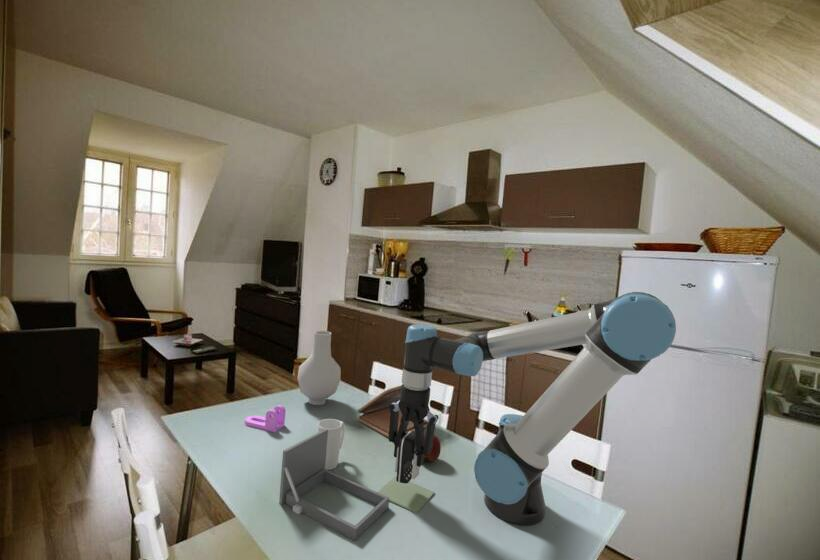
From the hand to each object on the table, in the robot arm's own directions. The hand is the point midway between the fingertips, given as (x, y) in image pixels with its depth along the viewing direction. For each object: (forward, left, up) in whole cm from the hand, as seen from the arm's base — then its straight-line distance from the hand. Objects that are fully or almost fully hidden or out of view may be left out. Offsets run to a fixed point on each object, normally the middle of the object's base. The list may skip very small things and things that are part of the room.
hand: (406, 473), depth 103 cm
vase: (+58, -31, -6) cm, 66 cm away
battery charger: (0, 0, -2) cm, 2 cm away
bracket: (+58, -4, -6) cm, 58 cm away
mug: (+25, 0, -6) cm, 26 cm away
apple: (+3, -19, -6) cm, 20 cm away
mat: (0, 0, -6) cm, 6 cm away
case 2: (+25, -35, -6) cm, 43 cm away
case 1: (+11, +14, -6) cm, 19 cm away
